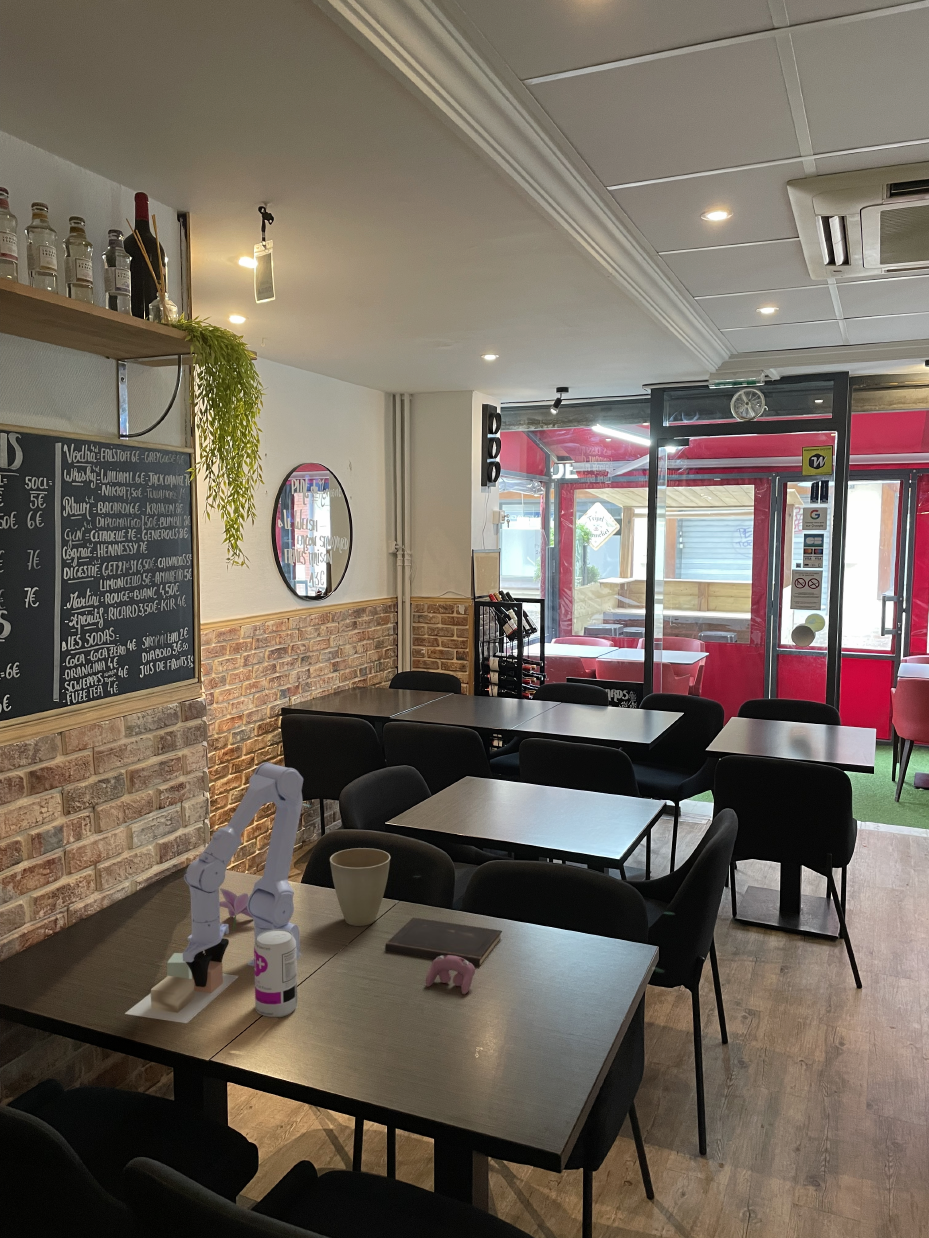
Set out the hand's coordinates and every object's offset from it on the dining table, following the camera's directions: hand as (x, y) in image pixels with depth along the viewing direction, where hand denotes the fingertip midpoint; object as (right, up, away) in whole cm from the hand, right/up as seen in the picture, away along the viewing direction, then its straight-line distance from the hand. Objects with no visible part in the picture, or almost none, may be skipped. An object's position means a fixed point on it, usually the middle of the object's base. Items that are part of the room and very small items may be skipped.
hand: (207, 980), depth 188 cm
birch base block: (-5, -2, -7) cm, 9 cm away
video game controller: (+51, -2, +1) cm, 51 cm away
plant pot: (+28, +1, +35) cm, 45 cm away
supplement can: (+16, -3, -9) cm, 19 cm away
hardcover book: (+49, -1, +21) cm, 53 cm away
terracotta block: (0, -1, 0) cm, 1 cm away
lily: (-2, 0, +33) cm, 33 cm away
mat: (-4, -2, -3) cm, 5 cm away
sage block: (-7, -1, +4) cm, 8 cm away
